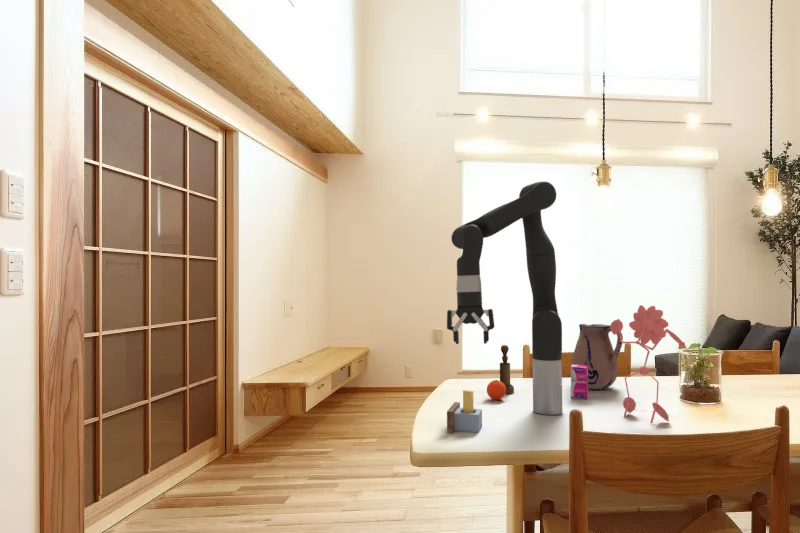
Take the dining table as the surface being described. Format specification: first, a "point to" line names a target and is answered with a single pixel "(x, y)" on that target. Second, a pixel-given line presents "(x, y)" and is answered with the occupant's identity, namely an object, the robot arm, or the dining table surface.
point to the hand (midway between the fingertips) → (471, 343)
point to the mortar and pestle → (505, 371)
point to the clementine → (496, 390)
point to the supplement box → (579, 381)
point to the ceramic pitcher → (597, 355)
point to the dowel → (468, 401)
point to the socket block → (468, 420)
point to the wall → (451, 417)
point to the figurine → (646, 329)
